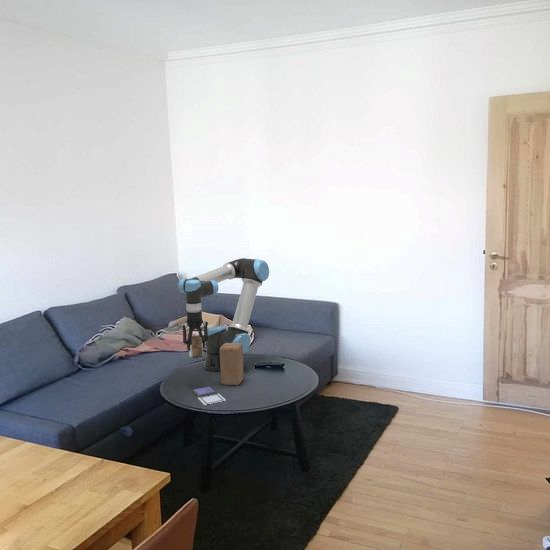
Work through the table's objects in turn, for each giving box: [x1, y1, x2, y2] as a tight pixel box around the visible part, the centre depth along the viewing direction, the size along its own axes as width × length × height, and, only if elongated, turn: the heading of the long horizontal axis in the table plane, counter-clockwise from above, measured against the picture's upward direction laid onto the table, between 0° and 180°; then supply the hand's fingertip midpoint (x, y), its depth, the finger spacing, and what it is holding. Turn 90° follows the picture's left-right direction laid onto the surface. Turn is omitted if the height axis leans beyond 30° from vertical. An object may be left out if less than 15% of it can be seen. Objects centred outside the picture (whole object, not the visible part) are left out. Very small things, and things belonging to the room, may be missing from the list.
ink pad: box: [192, 386, 217, 398], centre depth 288 cm, size 9×9×1 cm
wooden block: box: [220, 343, 245, 386], centre depth 300 cm, size 10×10×20 cm
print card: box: [197, 393, 227, 406], centre depth 279 cm, size 11×10×1 cm
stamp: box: [190, 334, 204, 359], centre depth 292 cm, size 5×5×10 cm
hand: (196, 355), depth 293 cm, fingers closed on stamp, 5 cm apart
